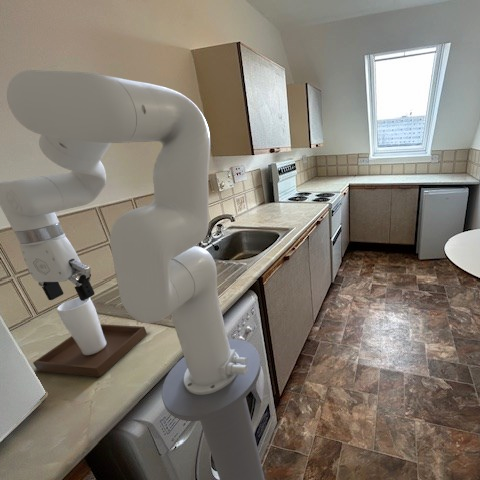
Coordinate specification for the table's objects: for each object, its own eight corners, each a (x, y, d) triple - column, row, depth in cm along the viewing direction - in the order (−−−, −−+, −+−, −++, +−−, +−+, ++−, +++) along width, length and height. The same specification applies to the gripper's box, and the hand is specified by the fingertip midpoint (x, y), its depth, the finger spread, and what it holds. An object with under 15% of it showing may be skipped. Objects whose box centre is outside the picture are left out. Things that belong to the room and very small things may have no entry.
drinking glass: (86, 361, 69) (62, 314, 63) (75, 353, 72) (51, 307, 67) (115, 344, 74) (95, 299, 69) (103, 337, 78) (83, 293, 72)
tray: (147, 334, 79) (144, 326, 78) (100, 377, 65) (96, 368, 64) (93, 330, 82) (89, 323, 81) (37, 370, 68) (32, 362, 67)
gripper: (-9, 241, 59) (28, 305, 65) (53, 238, 56) (86, 306, 62) (30, 230, 66) (60, 289, 72) (87, 227, 63) (114, 289, 69)
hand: (72, 297), depth 67 cm, fingers open, 9 cm apart
